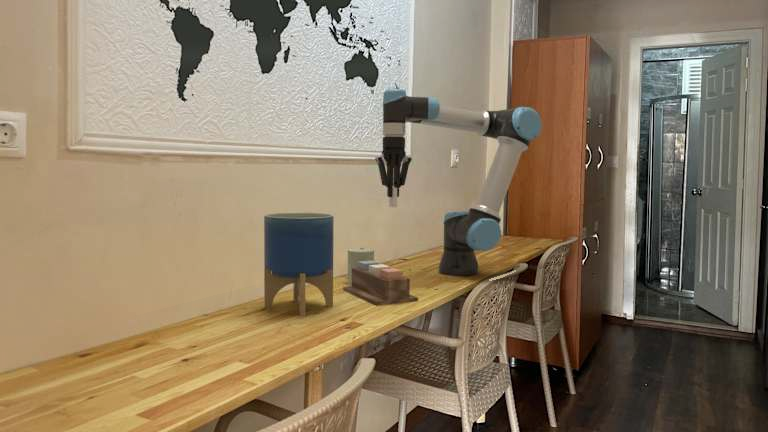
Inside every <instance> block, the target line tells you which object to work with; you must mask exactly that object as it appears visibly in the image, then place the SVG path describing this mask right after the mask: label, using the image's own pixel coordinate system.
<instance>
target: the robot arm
mask: <svg viewBox="0 0 768 432" xmlns="http://www.w3.org/2000/svg"><path fill="white" fill-rule="evenodd" d="M382 98H383V99H382V135H383V137H382V151H381V154H380V155H379V156H376V157H375V158H374V159H375V162H376V163H377V165H378V171H379V177H380V179H381V180H380V182H381V185H382V186H384V187H386V188H387V189H386V190H387V191H386V193H387V195H386V196H387V197H388V198H389V199H388V201H389V202H388V203H389V205H388V207H389V208H398V198H399V197H400V188H401V187H403V186H405V184H406V180H407V175H408V171H409V166H410V164H411V162H412V160H413V159H412V157H409V156H408V155H407V154H406V150H405V148H406V138H405V136H406V123H411V124H412V123H413V124H419V125H420V124H421V125H427V126H433V127H438V128H439V127H440V128H446V129H453V130H458V131H466V132H471V133H472V132H473V133H476V135H478V136H480V137H484V138H485V137H486V138H487V137H488V138H491V139H495V140H496V141H498V146H497V149H496V151H495V154H494V157H493V160H492V163H491V165H490V168H489V170H488V173H487V175H486V178H485V180H484V183H483V185H482V188H481V191H480V194H479V196H478V199H477V201H476V204H475V205H473V206H471V207H470V208H469V211H450V212H447V213H445V214H444V217H443V218H444V219H443V253H442V255H441V258H440V261H439V263H438V272H439V273H440V274H444V275H449V276H473V275H478V274H479V270H480V269H479V263H478V261H477V256H476V254H475V251H477V252H478V251H481V252H486V251H490V250H491V249H493V248H495V247H496V246H497V245H498V244H499V241H500V240H501V237H502V229H501V226H500V222H501V220H502V218H501V216H500V210H501V209H502V205H503V203H504V200H505V197H506V195H507V192H508V190H509V187H510V184H511V181H512V180H513V176H514V174H515V173H516V169H517V166H518V163H519V161H520V158H521V155H522V153H523V152H525V151H527V150H528V149H529V147H530V145H531V141H532V140H534V139H536V138H538V137H539V135H540V134H541V132H542V127H543V123H542V119H541V116H540V115H539V113H538V111H536V110H535V109H533V108H532V107H526V106H519V107H515V108H508V109H507V108H505V109H501V110H484V109H483V110H481V111H474V110H469V109H468V110H467V109H461V108H455V107H451V106H445V105H444V106H443V105H440V102H439V100H438V99H437V98H436V97H430V96H427V97H425V96H424V97H423V96H409V95H407V92H406V90H405V89H402V88H389V89H385V90H384V92H383V96H382ZM385 163H386V164H385Z"/></svg>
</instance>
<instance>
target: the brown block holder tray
mask: <svg viewBox="0 0 768 432" xmlns="http://www.w3.org/2000/svg"><path fill="white" fill-rule="evenodd" d="M410 281H411V278H409V277H406V276H403V279H392V280H386V279H383V278H381V277H380V275H373V274H370V273H369V271H362V270H359V269H358V267H357V268H352V285H350V286H347V285H346V286H342V289H343V291H345V292H347V293H349V294H351V295H353V296H355V297H358V298H359V299H362V300H364V301H366V302H368V303H370V304H372V305H375V306H383V305H393V304H394V305H395V304H403V303H411V302H413V303H414V302H418V301H419V297H418V296H415V295H412V294H410V290H411V289H410V285H411V284H410Z"/></svg>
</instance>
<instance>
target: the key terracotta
mask: <svg viewBox="0 0 768 432" xmlns="http://www.w3.org/2000/svg"><path fill="white" fill-rule="evenodd" d="M380 277H381V278H383V279H386V280H392V279H403V277H404V270H402V269H399V268H395V267H394V268H391V267H390V269H380Z"/></svg>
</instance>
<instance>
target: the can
mask: <svg viewBox="0 0 768 432" xmlns="http://www.w3.org/2000/svg"><path fill="white" fill-rule="evenodd" d="M358 261H375V249H374V248H368V247H354V248H348V249H347V282H346V283H347V284H348V285H350V286H352V268H357V267H358Z"/></svg>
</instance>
